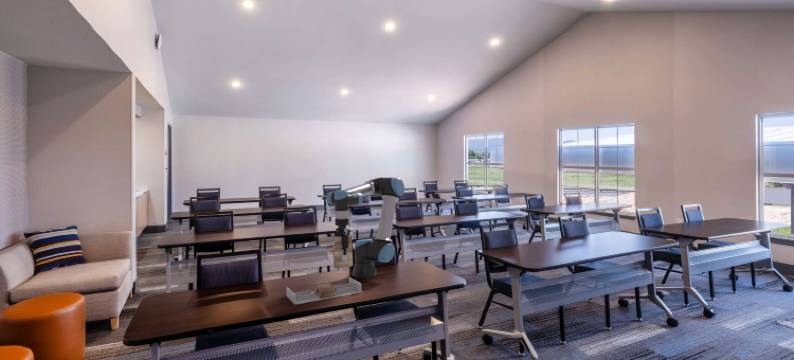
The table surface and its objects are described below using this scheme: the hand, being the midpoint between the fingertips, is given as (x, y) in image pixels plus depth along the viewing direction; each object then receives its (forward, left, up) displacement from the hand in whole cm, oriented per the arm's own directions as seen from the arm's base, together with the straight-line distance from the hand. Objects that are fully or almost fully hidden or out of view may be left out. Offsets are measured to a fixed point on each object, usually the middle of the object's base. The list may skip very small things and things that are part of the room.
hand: (343, 259), depth 240 cm
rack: (0, -11, -19) cm, 22 cm away
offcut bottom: (0, -11, -17) cm, 21 cm away
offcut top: (-1, -12, -13) cm, 18 cm away
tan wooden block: (0, 0, -4) cm, 4 cm away
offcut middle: (+1, -11, -15) cm, 19 cm away
